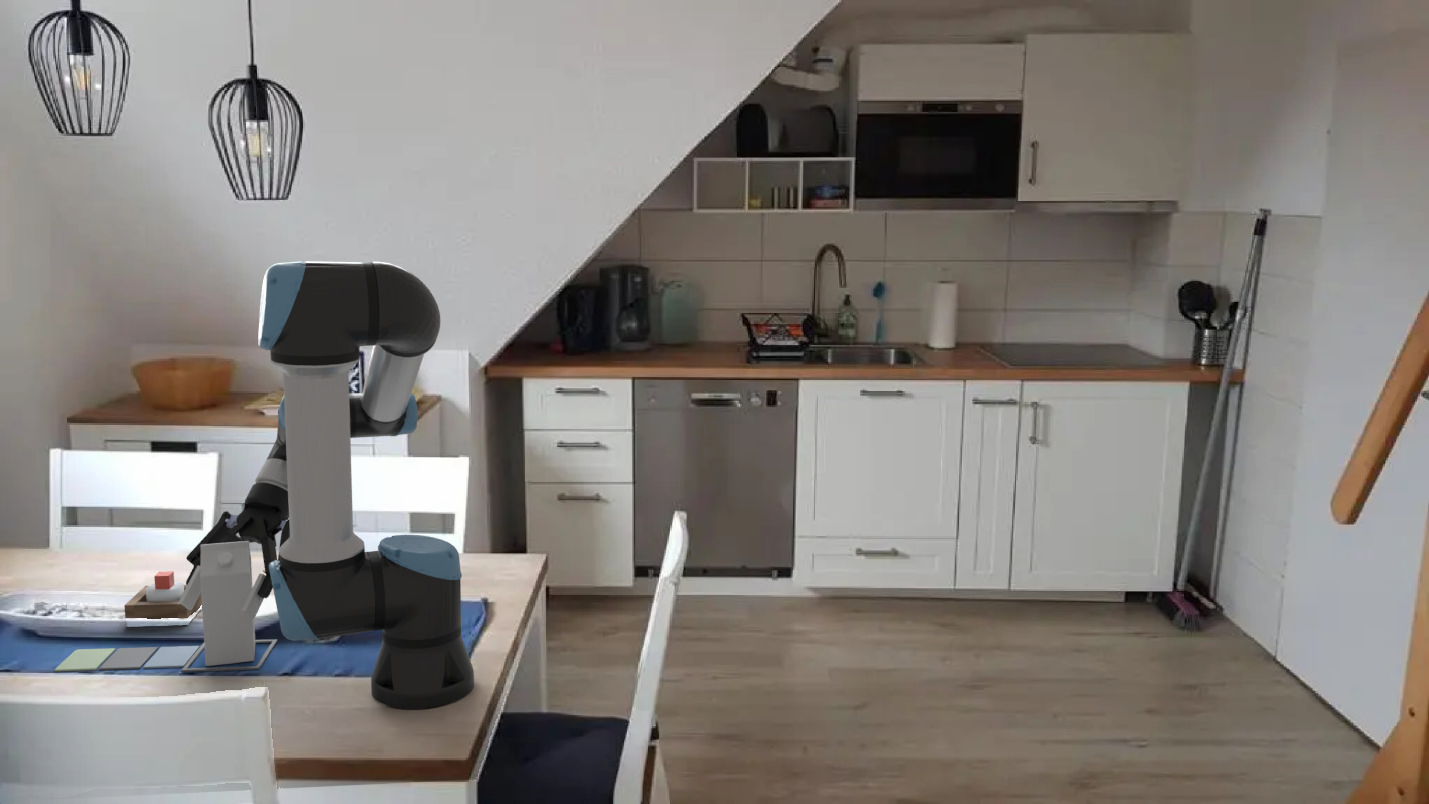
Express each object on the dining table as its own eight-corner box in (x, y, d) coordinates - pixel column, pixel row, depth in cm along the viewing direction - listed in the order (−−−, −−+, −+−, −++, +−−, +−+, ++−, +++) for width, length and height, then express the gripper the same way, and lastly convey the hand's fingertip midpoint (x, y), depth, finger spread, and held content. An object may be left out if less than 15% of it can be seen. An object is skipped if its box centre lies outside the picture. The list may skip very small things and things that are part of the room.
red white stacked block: (178, 614, 194) (176, 578, 193) (142, 615, 193) (139, 579, 192) (189, 602, 200) (187, 567, 199) (154, 603, 199) (152, 568, 198)
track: (259, 669, 175) (259, 667, 175) (49, 676, 171) (49, 674, 171) (277, 641, 187) (277, 639, 187) (81, 646, 182) (80, 645, 182)
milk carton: (208, 650, 182) (201, 538, 179) (255, 645, 185) (249, 534, 181) (205, 667, 176) (198, 551, 172) (254, 661, 178) (248, 547, 175)
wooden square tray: (187, 625, 192) (186, 603, 192) (125, 627, 191) (124, 605, 190) (205, 605, 202) (204, 584, 201) (146, 606, 201) (145, 585, 200)
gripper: (346, 509, 188) (291, 629, 176) (228, 497, 194) (168, 611, 182) (325, 486, 182) (267, 608, 170) (205, 474, 188) (141, 591, 176)
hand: (216, 610), depth 176 cm, fingers open, 11 cm apart
